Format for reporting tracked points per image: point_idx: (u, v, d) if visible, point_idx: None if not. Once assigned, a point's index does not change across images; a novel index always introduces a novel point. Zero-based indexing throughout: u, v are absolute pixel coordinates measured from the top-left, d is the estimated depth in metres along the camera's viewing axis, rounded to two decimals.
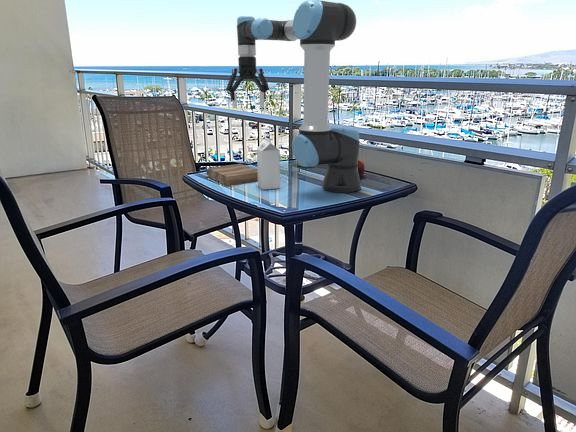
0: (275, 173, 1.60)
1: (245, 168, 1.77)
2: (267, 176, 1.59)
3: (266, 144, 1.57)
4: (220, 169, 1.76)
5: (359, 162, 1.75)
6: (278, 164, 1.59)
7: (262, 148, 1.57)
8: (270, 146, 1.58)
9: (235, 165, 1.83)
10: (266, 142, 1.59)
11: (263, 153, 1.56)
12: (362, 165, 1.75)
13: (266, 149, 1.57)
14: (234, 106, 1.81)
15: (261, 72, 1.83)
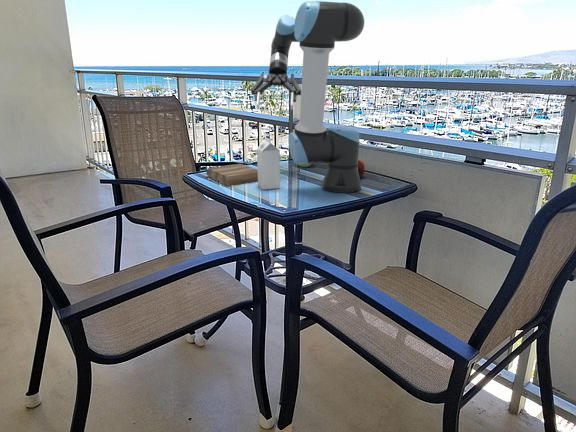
0: (274, 173, 1.60)
1: (245, 168, 1.77)
2: (267, 176, 1.59)
3: (266, 144, 1.57)
4: (220, 169, 1.76)
5: (359, 162, 1.75)
6: (278, 164, 1.59)
7: (262, 148, 1.57)
8: (270, 146, 1.58)
9: (235, 165, 1.83)
10: (266, 142, 1.59)
11: (263, 153, 1.56)
12: (362, 165, 1.75)
13: (266, 149, 1.57)
14: None
15: (292, 76, 1.70)
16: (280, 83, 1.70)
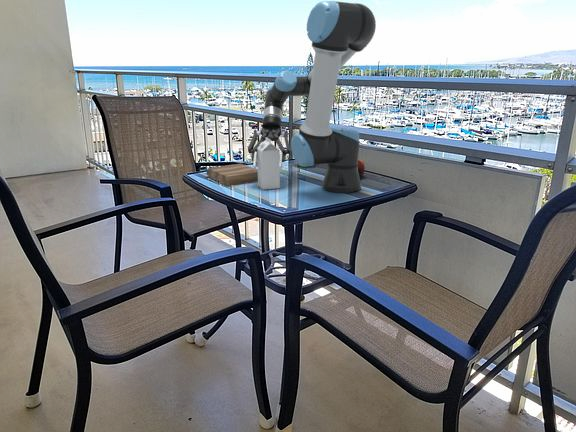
0: (275, 173, 1.60)
1: (245, 168, 1.77)
2: (267, 176, 1.59)
3: (266, 144, 1.57)
4: (220, 169, 1.76)
5: (359, 162, 1.75)
6: (278, 164, 1.59)
7: (262, 148, 1.57)
8: (270, 146, 1.58)
9: (235, 165, 1.83)
10: (266, 142, 1.59)
11: (263, 153, 1.56)
12: (362, 165, 1.75)
13: (266, 149, 1.57)
14: None
15: (285, 133, 1.64)
16: (274, 139, 1.64)
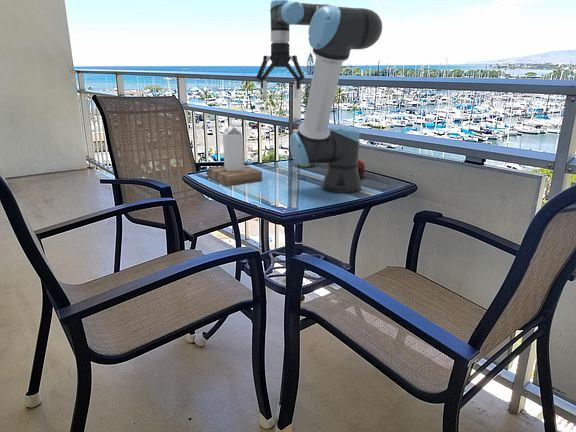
0: (238, 156, 1.71)
1: (245, 168, 1.77)
2: (232, 159, 1.70)
3: (230, 128, 1.68)
4: (220, 169, 1.76)
5: (359, 162, 1.75)
6: (242, 147, 1.70)
7: (226, 132, 1.68)
8: (234, 130, 1.69)
9: None
10: (230, 127, 1.70)
11: (227, 137, 1.67)
12: (362, 165, 1.75)
13: (230, 133, 1.68)
14: None
15: (294, 59, 1.69)
16: (283, 66, 1.71)
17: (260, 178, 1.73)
